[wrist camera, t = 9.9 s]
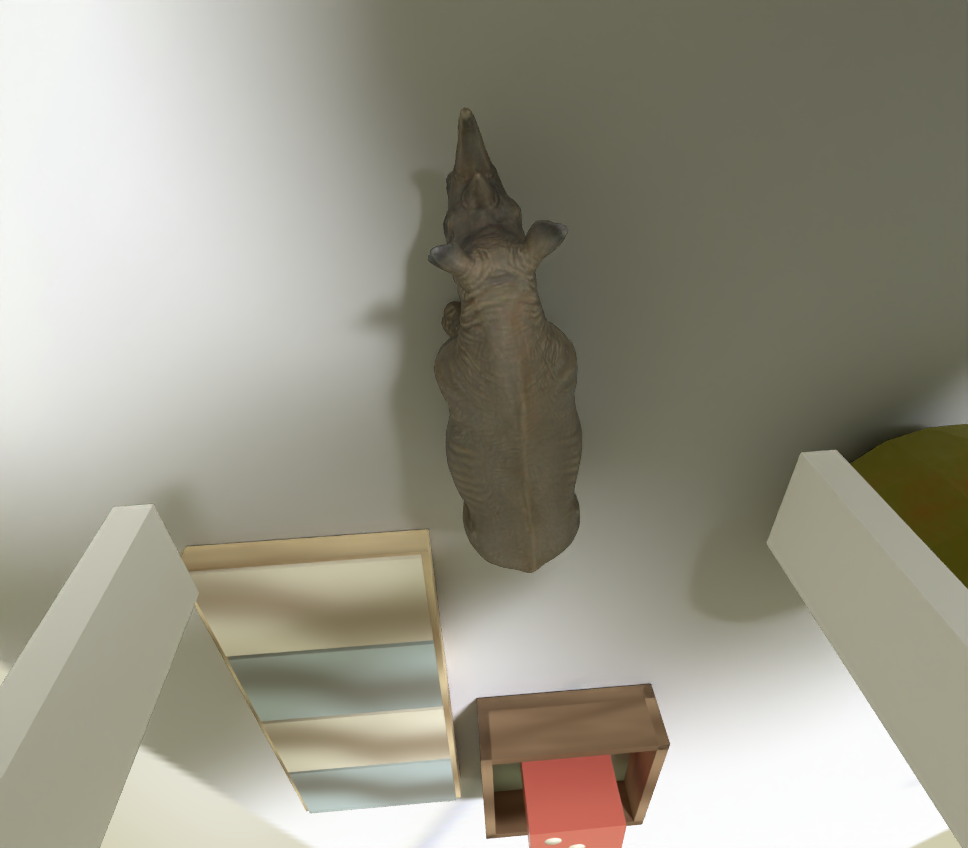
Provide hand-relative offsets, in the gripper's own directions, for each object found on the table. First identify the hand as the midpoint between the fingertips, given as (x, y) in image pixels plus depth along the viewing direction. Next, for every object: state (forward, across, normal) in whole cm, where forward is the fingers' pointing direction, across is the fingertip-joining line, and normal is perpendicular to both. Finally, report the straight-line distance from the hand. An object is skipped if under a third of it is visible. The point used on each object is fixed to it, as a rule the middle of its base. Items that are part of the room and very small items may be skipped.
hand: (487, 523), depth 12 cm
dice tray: (+8, +4, -28) cm, 30 cm away
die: (+8, +4, -28) cm, 29 cm away
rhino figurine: (+9, +1, 0) cm, 9 cm away
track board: (+9, -7, -21) cm, 23 cm away
